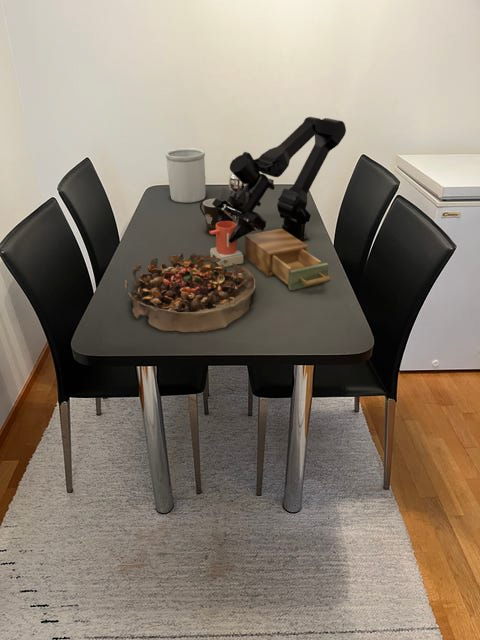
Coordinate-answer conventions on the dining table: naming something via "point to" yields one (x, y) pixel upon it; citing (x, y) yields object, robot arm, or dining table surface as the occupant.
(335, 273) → the dining table surface
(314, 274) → the drawer
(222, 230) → the red mug
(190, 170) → the utensil holder
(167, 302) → the food dish
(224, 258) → the kitchen scale
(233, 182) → the beer glass
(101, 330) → the dining table surface
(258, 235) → the cabinet
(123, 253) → the dining table surface
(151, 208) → the dining table surface
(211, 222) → the coffee mug
